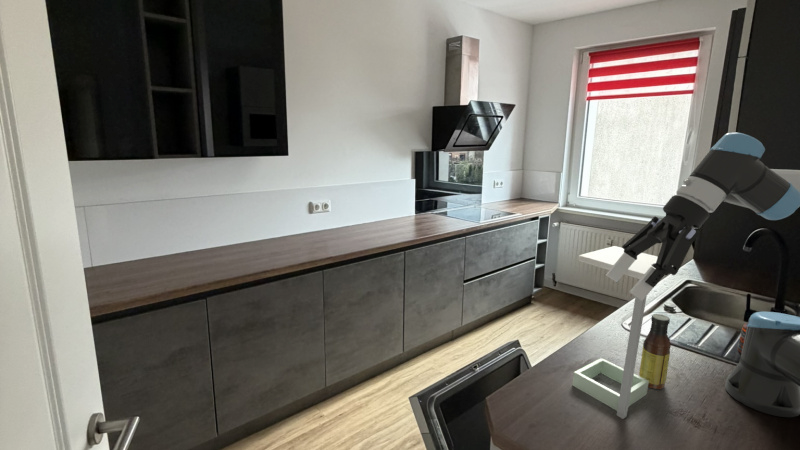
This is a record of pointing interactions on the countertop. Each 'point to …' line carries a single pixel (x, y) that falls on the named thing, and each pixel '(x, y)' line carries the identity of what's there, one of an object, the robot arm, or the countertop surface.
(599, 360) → the frame
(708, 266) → the countertop surface
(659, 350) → the sauce bottle
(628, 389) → the c-shaped side table
